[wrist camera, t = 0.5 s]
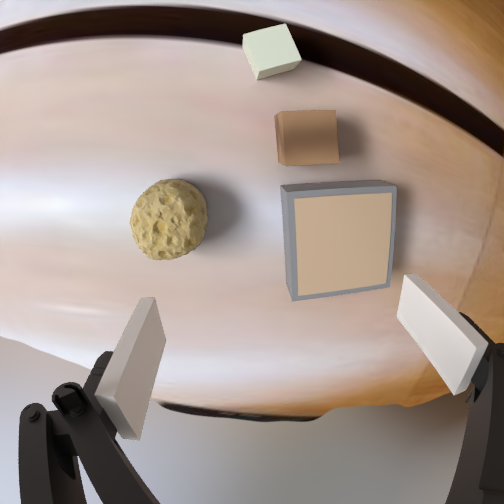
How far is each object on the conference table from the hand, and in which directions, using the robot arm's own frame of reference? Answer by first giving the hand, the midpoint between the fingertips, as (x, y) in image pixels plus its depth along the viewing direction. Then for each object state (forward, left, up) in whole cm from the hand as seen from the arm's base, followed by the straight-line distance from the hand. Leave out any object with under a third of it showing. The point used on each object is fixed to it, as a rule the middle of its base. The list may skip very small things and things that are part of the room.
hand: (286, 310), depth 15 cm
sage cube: (-19, +3, -25) cm, 32 cm away
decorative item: (0, -11, -25) cm, 27 cm away
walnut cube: (-8, +6, -25) cm, 27 cm away
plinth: (+5, +10, -25) cm, 28 cm away
